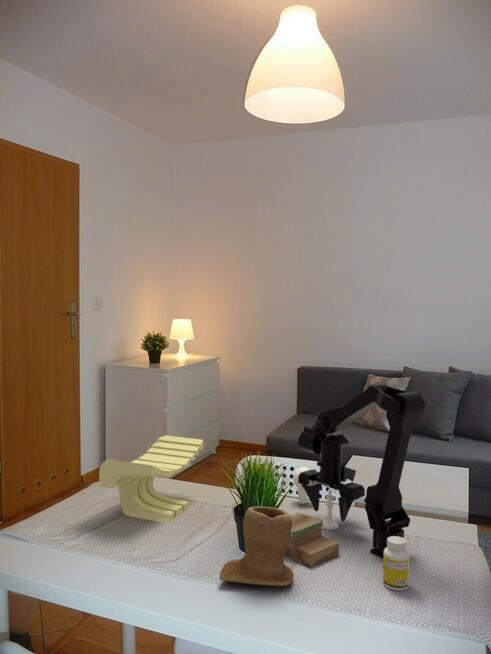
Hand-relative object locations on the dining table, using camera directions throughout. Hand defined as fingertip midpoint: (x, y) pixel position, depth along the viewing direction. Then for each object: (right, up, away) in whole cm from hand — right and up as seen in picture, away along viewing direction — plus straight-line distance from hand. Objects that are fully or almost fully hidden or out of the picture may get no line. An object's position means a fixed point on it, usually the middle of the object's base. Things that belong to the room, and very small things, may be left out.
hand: (329, 515), depth 153 cm
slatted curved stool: (-48, -2, +9) cm, 49 cm away
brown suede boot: (-20, -4, -29) cm, 36 cm away
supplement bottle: (+9, -5, -31) cm, 33 cm away
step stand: (-8, -3, -16) cm, 18 cm away
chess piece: (0, -3, 0) cm, 3 cm away
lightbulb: (-5, -2, +17) cm, 18 cm away
